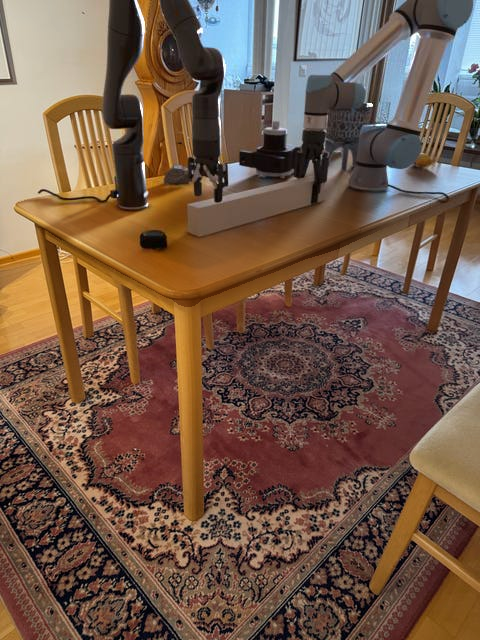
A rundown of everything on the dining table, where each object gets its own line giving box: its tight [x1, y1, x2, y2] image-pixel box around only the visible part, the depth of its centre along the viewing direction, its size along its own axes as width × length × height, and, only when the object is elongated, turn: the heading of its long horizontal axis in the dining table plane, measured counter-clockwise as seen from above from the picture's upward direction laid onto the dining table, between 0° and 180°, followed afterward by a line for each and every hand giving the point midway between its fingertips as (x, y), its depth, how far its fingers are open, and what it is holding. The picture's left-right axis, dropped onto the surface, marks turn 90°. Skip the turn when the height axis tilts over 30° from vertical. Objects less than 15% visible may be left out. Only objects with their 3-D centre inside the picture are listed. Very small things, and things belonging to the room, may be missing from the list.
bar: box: [186, 174, 326, 238], centre depth 142 cm, size 56×5×8 cm, turn 134°
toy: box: [412, 152, 435, 169], centre depth 214 cm, size 11×6×15 cm
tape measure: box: [139, 229, 168, 250], centre depth 117 cm, size 7×7×4 cm
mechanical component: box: [238, 120, 304, 179], centre depth 191 cm, size 22×21×30 cm
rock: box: [163, 163, 193, 186], centre depth 176 cm, size 13×9×6 cm, turn 131°
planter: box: [324, 102, 374, 172], centre depth 204 cm, size 20×20×26 cm
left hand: (208, 199), depth 126 cm, fingers open, 8 cm apart
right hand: (307, 200), depth 158 cm, fingers closed on bar, 5 cm apart
